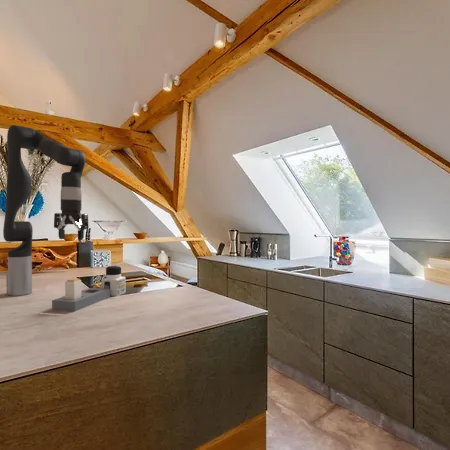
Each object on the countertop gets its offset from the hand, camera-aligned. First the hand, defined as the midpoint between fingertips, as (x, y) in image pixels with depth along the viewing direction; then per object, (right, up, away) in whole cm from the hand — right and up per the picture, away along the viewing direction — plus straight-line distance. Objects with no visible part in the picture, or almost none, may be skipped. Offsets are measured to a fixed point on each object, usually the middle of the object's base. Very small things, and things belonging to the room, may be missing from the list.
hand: (71, 239), depth 129 cm
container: (+11, -26, +17) cm, 33 cm away
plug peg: (+3, -26, -4) cm, 26 cm away
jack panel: (+5, -26, +1) cm, 27 cm away
